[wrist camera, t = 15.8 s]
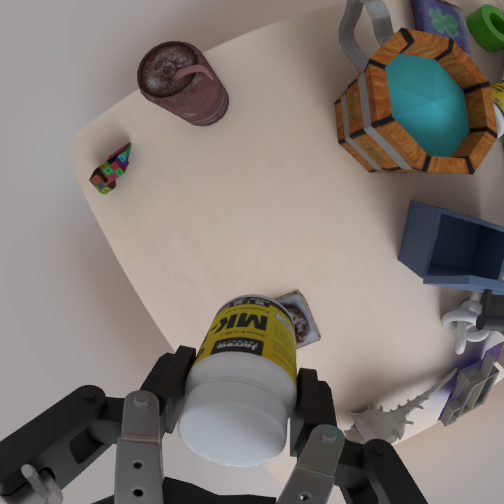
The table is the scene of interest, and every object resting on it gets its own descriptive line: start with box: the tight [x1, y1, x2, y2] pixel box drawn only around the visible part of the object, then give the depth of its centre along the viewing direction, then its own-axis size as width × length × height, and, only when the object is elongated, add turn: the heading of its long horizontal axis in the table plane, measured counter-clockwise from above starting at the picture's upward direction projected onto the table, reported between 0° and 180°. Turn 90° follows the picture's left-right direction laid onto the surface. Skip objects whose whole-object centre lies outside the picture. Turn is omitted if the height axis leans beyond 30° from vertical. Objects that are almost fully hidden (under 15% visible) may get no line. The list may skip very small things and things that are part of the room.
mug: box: [335, 0, 498, 175], centre depth 25 cm, size 20×14×15 cm
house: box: [437, 341, 504, 426], centre depth 37 cm, size 11×14×6 cm
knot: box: [441, 300, 490, 354], centre depth 35 cm, size 8×8×6 cm
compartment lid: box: [423, 275, 504, 331], centre depth 24 cm, size 8×13×5 cm
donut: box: [275, 291, 321, 349], centre depth 39 cm, size 8×8×2 cm
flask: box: [410, 0, 471, 57], centre depth 26 cm, size 9×3×11 cm
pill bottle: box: [490, 79, 504, 138], centre depth 27 cm, size 6×6×11 cm
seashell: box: [344, 367, 458, 444], centre depth 38 cm, size 10×9×25 cm
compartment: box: [398, 201, 504, 281], centre depth 32 cm, size 8×13×8 cm, turn 82°
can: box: [137, 41, 229, 126], centre depth 27 cm, size 6×6×14 cm
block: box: [89, 143, 131, 194], centre depth 36 cm, size 6×4×3 cm
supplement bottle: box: [178, 294, 297, 467], centre depth 13 cm, size 5×5×8 cm
